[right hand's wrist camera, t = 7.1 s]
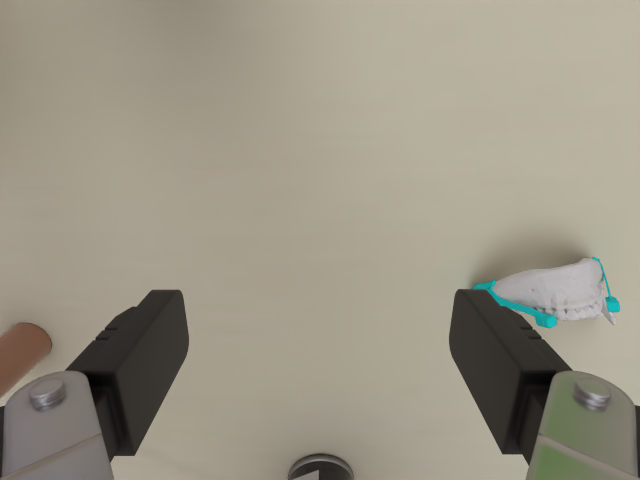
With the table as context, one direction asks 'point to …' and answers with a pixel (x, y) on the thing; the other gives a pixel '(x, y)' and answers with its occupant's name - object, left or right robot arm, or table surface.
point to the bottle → (21, 353)
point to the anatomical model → (556, 293)
